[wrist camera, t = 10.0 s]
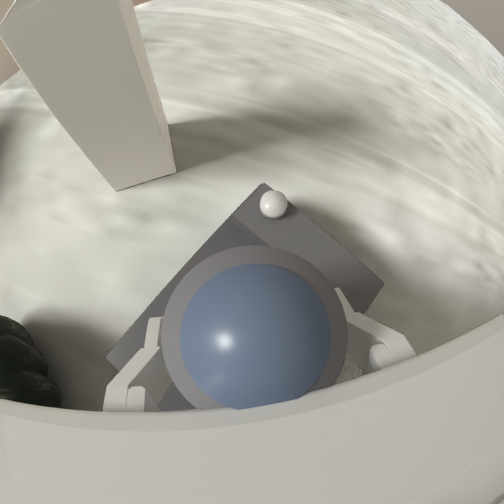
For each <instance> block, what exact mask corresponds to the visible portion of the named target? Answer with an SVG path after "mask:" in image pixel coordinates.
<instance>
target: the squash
mask: <svg viewBox="0 0 504 504" xmlns="http://www.w3.org/2000/svg"><path fill="white" fill-rule="evenodd" d="M47 375H48V370H47V365H46V362H45V360H44V358H43V356H42V355H41V354H40V353H39V352H38V351H37V350H36V349H35V348H34V345H33V342H32V340H31V338H30V336H29V334H28V333H27V331H26V330H25V328H24V327H23V326H22V325H21V324H19V323H18V322H16V321H14V320H12V319H10V318H8V317H5V316H1V315H0V399H6V400H10V401H14V402H20V403H25V404H32V405H38V406H45V407H53V408H58V406H59V404H60V400H61V395H60V390H59V388H58V387H57V385H56V384H55V383H53V382H52V381H51V380H50V379H48V378H47Z"/></svg>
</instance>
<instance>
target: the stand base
mask: <svg viewBox="0 0 504 504" xmlns="http://www.w3.org/2000/svg"><path fill="white" fill-rule="evenodd" d="M247 245H263V246H271V247H276V248H280V249H283V250H286V251H289V252H291V253H294V254H296V255H298V256H300V257H302V258H303V259H305V260H307V261H308V262H309V263H311V264H312V265H314V266H315V267H316V268H317V269H318V270H319V271H320V272H321V273H322V274H323V275H324V276H325V277H326V278H327V279H328V281H329V282H330V283H331V284H332V286H333V288H337V287H338V288H340V290H341V291H342V293H343V294H344V296H345V298H346V299H347V301H348V302H349V304H350V306H351V307H352V309H353V310H354V312H355V313H356V312H359V313H361V314H363V315H364V313H365V312H366V310H367V309H368V307H369V306H370V304H371V303H372V301H373V300H374V298H375V297H376V295H377V294H378V292H379V291H380V289H381V288H382V286H383V285H384V282H383V281H382V280H381V279H379V278H378V277H377V276H376V275H375V274H374V273H373V272H372V271H371V270H369V269H368V268H367V267H366V266H365V265H364V264H363V263H362V262H360V261H359V260H358V259H357V258H356V257H355V256H354V255H352V254H351V253H350V252H349V251H348V250H347V249H345V248H344V247H343V246H342V245H341V244H340V243H338V242H337V241H336V240H335V239H334V238H333V237H331V236H330V235H329V234H328V233H327V232H325V231H324V230H323V229H322V228H321V227H319V226H318V225H317V224H316V223H315V222H313V221H312V220H311V219H310V218H308V217H307V216H306V215H305V214H304V213H302V212H301V211H300V210H299V209H297V208H296V207H295V206H294V205H292V204H291V203H290V202H289V201H287V199H286V197H285V196H284V194H282V193H281V192H279V191H275V190H273V189H272V188H271V187H269V186H268V185H267V184H265V183H263V184H260V185H259V186H258V187H257V188H256V189H255V190H254V191H253V193H252V194H251V195H250V196H249V197H248V198H247V199H246V200H245V201H244V202H243V203H242V204H241V205H240V206H239V207H238V208H237V209H236V210H235V211H234V212H233V213H232V214H231V215H230V217H229V218H228V219H227V220H226V221H225V222H224V223H223V224H222V225H221V226H220V227H219V228H218V229H217V230H216V231H215V233H214V234H213V235H212V236H211V237H210V238H209V239H208V240H207V241H206V242H205V243H204V244H203V246H202V247H201V248H200V249H199V250H198V251H197V252H196V253H195V254H194V255H193V256H192V258H191V259H190V260H189V261H188V262H187V263H186V264H185V265H184V266H183V268H182V269H181V270H180V271H179V272H178V273H177V274H176V275H175V276H174V278H173V279H172V280H171V281H170V282H169V283H168V284H167V286H166V287H165V288H164V289H163V290H162V291H161V292H160V293H159V295H158V296H157V297H156V298H155V299H154V300H153V302H152V303H151V304H150V305H149V306H148V307H147V308H146V310H145V311H144V312H143V313H142V314H141V315H140V317H139V318H138V319H137V320H136V321H135V323H134V324H133V325H132V326H131V327H130V328H129V330H128V331H127V332H126V333H125V334H124V336H123V337H122V338H121V339H120V340H119V342H118V343H117V344H116V345H115V346H114V348H113V349H112V350H111V351H110V353H109V354H108V355H107V356H106V357H105V358H106V359H107V360H108V361H109V362H110V363H111V364H112V365H113V366H114V367H115V368H116V369H117V370H118V371H119V372H120V371H121V370H122V369H123V367H124V366H125V365H126V364H127V363H128V362H129V361H130V360H131V359H132V357H133V356H134V355H135V354H136V353H137V352H138V351H139V350H140V349H141V348H144V345H145V339H146V332H147V326H148V321H149V319H150V318H153V317H162V316H164V313H165V309H166V306H167V304H168V301H169V299H170V297H171V295H172V293H173V292H174V290H175V288H176V286H177V285H178V284H179V283H180V281H181V280H182V279H183V277H184V276H185V275H186V274H187V273H188V272H189V271H190V270H191V269H192V268H194V267H195V266H196V265H198V264H199V263H200V262H201V261H203V260H205V259H206V258H208V257H210V256H212V255H214V254H216V253H218V252H221V251H223V250H226V249H230V248H234V247H239V246H247ZM157 406H158V408H159V409H160V410H161V411H178V410H191V409H197V408H195V407H194V406H193V405H192V404H191V403H190V402H189V401H188V400H187V399H186V398H185V397H184V396H183V395H182V394H181V392H180V391H179V390H178V389H177V387H176V385H175V384H174V382H173V381H172V383H171V384H170V386H169V388H168V389H167V391H166V392H165V394H164V396H163V397H162V399H161V401H160V402H159V404H158V405H157Z"/></svg>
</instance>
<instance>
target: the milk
mask: <svg viewBox="0 0 504 504" xmlns="http://www.w3.org/2000/svg"><path fill="white" fill-rule="evenodd" d="M0 38H1V40H2V41H3V43H4V44H5V46H6V48H7V49H8V51H9V52H10V54H11V55H12V57H13V58H14V60H15V61H16V63H17V64H18V66H19V67H20V69H21V70H22V72H23V73H24V75H25V76H26V78H27V79H28V81H29V82H30V83H31V85H32V86H33V88H34V89H35V91H36V92H37V93H38V95H39V96H40V98H41V99H42V100H43V102H44V103H45V104H46V106H47V107H48V108H49V110H50V111H51V112H52V114H53V115H54V116H55V118H56V119H57V120H58V122H59V123H60V124H61V126H62V127H63V128H64V129H65V131H66V132H67V133H68V135H69V136H70V137H71V138H72V140H73V141H74V142H75V143H76V145H77V146H78V147H79V148H80V150H81V151H82V152H83V153H84V155H85V156H86V157H87V158H88V160H89V161H90V162H91V163H92V164H93V166H94V167H95V168H96V169H97V170H98V172H99V173H100V174H101V175H102V176H103V178H104V179H105V180H106V181H107V182H108V183H109V185H110V186H111V187H112V188H113V189H114V190H115V191H118V190H121V189H124V188H127V187H130V186H133V185H137V184H140V183H143V182H146V181H149V180H153V179H156V178H159V177H163V176H166V175H169V174H173V173H176V166H175V161H174V156H173V151H172V145H171V140H170V134H169V128H168V123H167V120H166V117H165V114H164V111H163V107H162V104H161V101H160V98H159V94H158V91H157V88H156V85H155V81H154V78H153V75H152V71H151V68H150V64H149V61H148V57H147V54H146V50H145V47H144V43H143V40H142V36H141V33H140V29H139V25H138V21H137V18H136V14H135V10H134V6H133V3H132V0H15V2H14V3H13V5H12V6H11V7H10V9H9V11H8V12H7V14H6V15H5V17H4V19H3V20H2V22H1V24H0Z"/></svg>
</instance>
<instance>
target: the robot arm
mask: <svg viewBox="0 0 504 504" xmlns="http://www.w3.org/2000/svg"><path fill="white" fill-rule="evenodd" d="M334 289H335V291H336V293H337V294H338V296H339V299H340V301H341V303H342V305H343V309H344V312H345V316H346V321H347V328H348V343H347V352H346V356H345V358H346V359H348V360H349V361H350V362H352V363H353V364H354V365H356V366H357V367H358V368H360V369H361V370H363V372H362V375H361V376H359V377H356V378H353V379H349V380H346V381H342V382H339V383H335V384H334V385H333V386H331V387H327V388H324V389H320V390H316V391H312V392H308V393H305V394H304V395H302V396H301V397H300V398H299V399H295V400H291V401H286V402H281V403H276V404H271V405H266V406H260V407H254V408H248V409H242V410H236V409H232V408H230V407H226V408H218V409H209V410H198V409H191V410H178V411H161V410H160V409H159V408H158V406H157V405H158V404H159V402H160V401H161V399H162V397H163V396H164V394H165V392H166V391H167V389H168V388H169V386H170V384H171V383H172V379H171V377H170V374H169V372H168V370H167V368H166V364H165V361H164V357H163V352H162V345H161V329H162V321H163V317H164V316H162V317H153V318H150V319H149V321H148V326H147V332H146V339H145V345H144V348H141V349H140V350H139V351H138V352H137V353H136V354H135V355H134V356H133V357H132V359H131V360H130V361H129V362H128V363H127V364H126V365H125V366H124V367H123V369H122V370H121V371H120V372H119V373H118V374H117V375H116V376H115V377H114V379H113V380H112V381H111V382H110V383H109V384H108V385H107V388H106V393H105V398H104V404H103V410H102V411H85V410H72V409H62V408H53V407H45V406H38V405H32V404H25V403H20V402H14V401H10V400H6V399H0V504H504V313H503V314H501V315H499V316H497V317H495V318H494V319H492V320H490V321H488V322H486V323H485V324H483V325H481V326H479V327H477V328H475V329H473V330H472V331H470V332H468V333H466V334H464V335H462V336H460V337H458V338H456V339H454V340H451V341H449V342H447V343H445V344H443V345H441V346H438V347H436V348H434V349H432V350H429V351H427V352H425V353H422V354H420V355H416V353H415V351H414V350H413V348H412V347H411V345H410V344H409V342H408V341H407V339H406V338H405V336H404V335H403V334H401V333H399V332H397V331H395V330H393V329H391V328H389V327H387V326H385V325H383V324H381V323H379V322H377V321H375V320H373V319H371V318H369V317H367V316H365V315H363V314H361V313H359V312H356V313H355V312H354V310H353V309H352V307H351V306H350V304H349V302H348V301H347V299H346V298H345V296H344V294H343V293H342V291H341V290H340V288H338V287H337V288H334Z"/></svg>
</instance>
